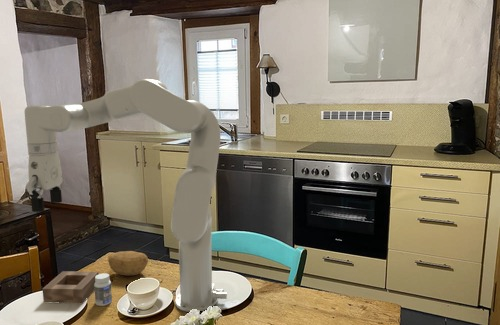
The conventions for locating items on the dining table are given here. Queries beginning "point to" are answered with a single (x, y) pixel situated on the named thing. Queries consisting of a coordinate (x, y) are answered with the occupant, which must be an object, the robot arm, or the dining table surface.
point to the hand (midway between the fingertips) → (47, 206)
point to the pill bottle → (102, 289)
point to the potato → (128, 262)
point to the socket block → (70, 287)
